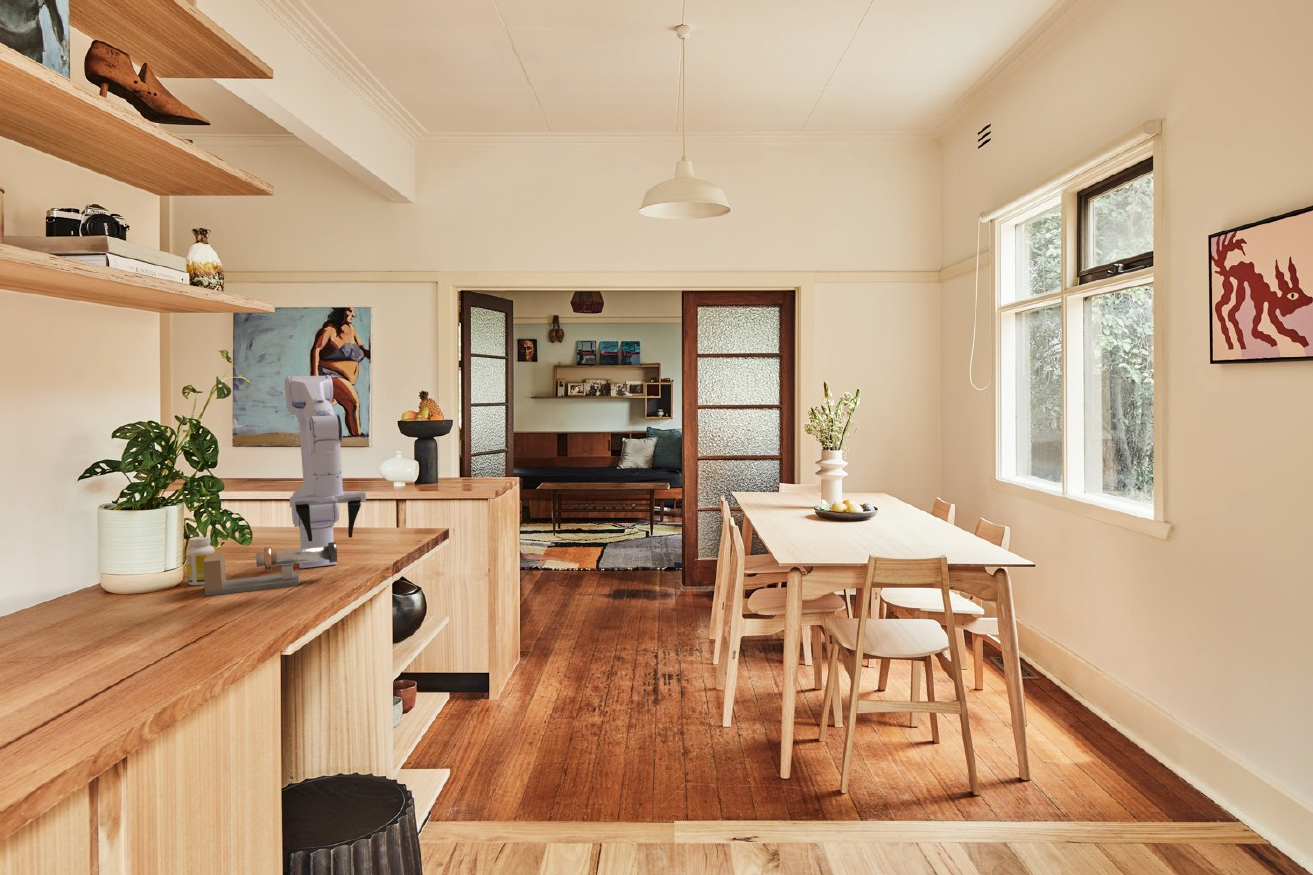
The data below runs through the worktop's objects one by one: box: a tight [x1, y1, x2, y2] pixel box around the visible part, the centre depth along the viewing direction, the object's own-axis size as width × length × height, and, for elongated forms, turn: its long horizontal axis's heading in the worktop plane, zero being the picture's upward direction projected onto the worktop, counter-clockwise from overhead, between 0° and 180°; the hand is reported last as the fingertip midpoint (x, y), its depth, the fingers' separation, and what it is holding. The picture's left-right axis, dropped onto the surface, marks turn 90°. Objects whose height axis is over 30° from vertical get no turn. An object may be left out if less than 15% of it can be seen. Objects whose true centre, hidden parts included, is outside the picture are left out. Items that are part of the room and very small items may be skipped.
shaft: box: [255, 541, 338, 572], centre depth 169 cm, size 5×16×5 cm, turn 113°
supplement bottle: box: [185, 535, 216, 586], centre depth 170 cm, size 5×5×10 cm
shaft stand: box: [203, 552, 300, 597], centre depth 166 cm, size 8×17×7 cm, turn 113°
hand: (330, 538), depth 164 cm, fingers open, 7 cm apart
